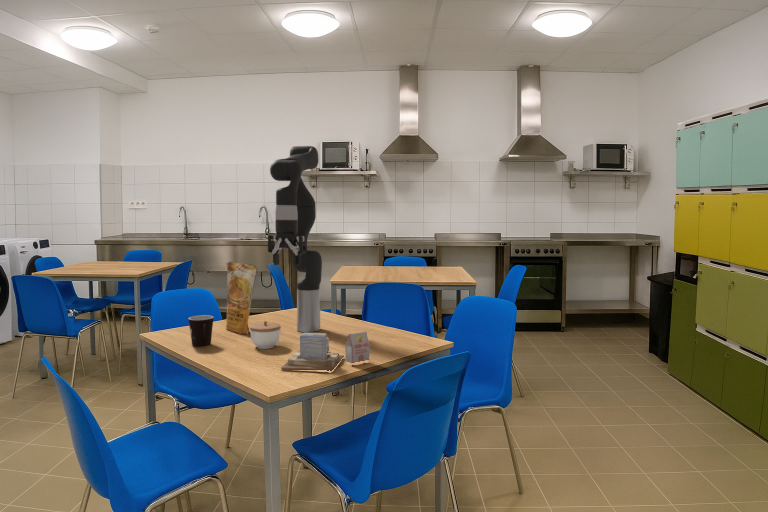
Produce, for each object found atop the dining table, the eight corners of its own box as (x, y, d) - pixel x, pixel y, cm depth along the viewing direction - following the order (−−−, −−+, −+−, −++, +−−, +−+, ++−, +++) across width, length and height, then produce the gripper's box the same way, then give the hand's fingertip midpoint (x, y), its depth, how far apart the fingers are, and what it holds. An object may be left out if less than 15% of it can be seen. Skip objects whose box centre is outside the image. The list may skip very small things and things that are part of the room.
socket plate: (297, 356, 167) (297, 348, 166) (344, 358, 164) (344, 351, 164) (281, 370, 151) (281, 362, 151) (332, 373, 148) (332, 365, 148)
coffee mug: (193, 341, 184) (192, 315, 183) (216, 341, 185) (216, 315, 184) (183, 350, 172) (182, 322, 172) (208, 349, 173) (207, 321, 172)
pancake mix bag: (234, 325, 212) (233, 260, 209) (259, 333, 199) (258, 264, 196) (220, 328, 207) (219, 261, 204) (244, 336, 194) (243, 265, 191)
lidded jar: (271, 351, 171) (270, 325, 171) (244, 349, 175) (244, 323, 174) (286, 344, 182) (285, 319, 181) (260, 341, 185) (260, 317, 184)
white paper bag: (345, 363, 159) (345, 333, 158) (362, 360, 163) (363, 330, 162) (351, 366, 156) (351, 335, 155) (369, 362, 160) (369, 332, 159)
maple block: (315, 351, 173) (315, 337, 173) (328, 351, 172) (329, 337, 172) (310, 354, 169) (310, 340, 168) (324, 355, 167) (324, 341, 167)
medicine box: (327, 359, 159) (327, 333, 159) (323, 363, 155) (323, 336, 154) (303, 358, 160) (303, 332, 160) (299, 362, 156) (299, 335, 155)
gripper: (310, 218, 170) (310, 265, 172) (275, 218, 176) (276, 263, 177) (298, 218, 163) (298, 267, 165) (262, 218, 169) (263, 265, 170)
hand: (286, 265), depth 171 cm, fingers open, 8 cm apart
